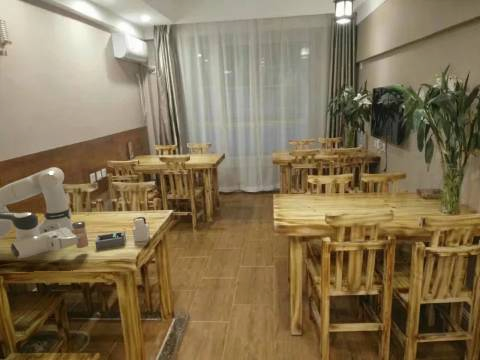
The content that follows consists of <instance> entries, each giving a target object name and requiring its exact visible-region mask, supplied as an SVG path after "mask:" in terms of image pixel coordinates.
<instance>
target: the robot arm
mask: <svg viewBox="0 0 480 360" xmlns="http://www.w3.org/2000/svg"><path fill="white" fill-rule="evenodd" d="M64 179H65V173H64V172H63V171H62V169H60V168H59V167H55V166H54V167H53V166H52V167H50V168H49V167H48V168H46V169H44V170H41V171H39V172H36V173H34V174H32V175H28V176H27V177H24V178H21V179H18V180H16V181H13V182H10V183H8V184H6V185H4V186H2V187H0V239H1V238H3V237H6V236H7V235H8V234H10V232H11V231H12V229H13V227H14V231H15V235H16V236H15V237H16V240H15V241H13V242H11V244H10V249H11V253H12V254H13V256H14V257H15V258H16V259H22V258H27V257H33V256H36V255H38V254H40V253H44V252H50V251H55V252H60V251H62V249H67V248H70V247H73V246H76V244H77V243H78V239H79V238H80V237H83V236H85V234H84V232H81V233H79V234H74V230H73V227H72V224H73V221H72V219H71V216H72V215H71V209H70V208H69V204H68V199H67V198H68V197H67V195H66V193H65V190H64V186H63V182H64V181H65V180H64ZM40 193H42V195H43V196H44V197H43V198H44V201H45V206H46V211H45V213H44V215H43V218H44V219H43V220H42V221H41V222H40V223H39V217H38V215H36V214H35V213H33V212H31V211H24V212H17V211H11V210H9V209H8V208H7V205H11V204H15V203H19V202H22V201H23V200H27V199H29V198H32V197H34V196H37V195H39V194H40Z"/></svg>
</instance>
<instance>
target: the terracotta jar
mask: <svg viewBox="0 0 480 360" xmlns="http://www.w3.org/2000/svg"><path fill="white" fill-rule="evenodd" d="M72 227H73V230H74V234H79V233H81V232H84V234H85V236H83V237H80V238H79V239H78V243H77V244H76V245H75V246H76V248H78V249H81V248H85V247H88V246H89V241H88V235H87V229H86V223H85V221H84V220H80V221H76V222H72Z"/></svg>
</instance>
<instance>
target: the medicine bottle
mask: <svg viewBox="0 0 480 360" xmlns="http://www.w3.org/2000/svg"><path fill="white" fill-rule="evenodd" d="M133 223H134V227H133V228H132V234H133V241H134V243H138V242H148V241H149V239H150V233H151V232H150V227H149V225H150V224H148V223H147V222H146V217H144V216H138V217H135V218H134V219H133Z"/></svg>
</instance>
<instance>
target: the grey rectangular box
mask: <svg viewBox="0 0 480 360" xmlns="http://www.w3.org/2000/svg"><path fill="white" fill-rule="evenodd" d="M113 235H114V232H112V233H105V234H98V235H97V238H96V240H95V241H94V242H95V243H94V244H95V249H96V250H100V249H106V248H113V247H114V248H115V247H120V246H125V245H126V239H127V236H126V231H125V230H122V231H117V236H119V238H113Z"/></svg>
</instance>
